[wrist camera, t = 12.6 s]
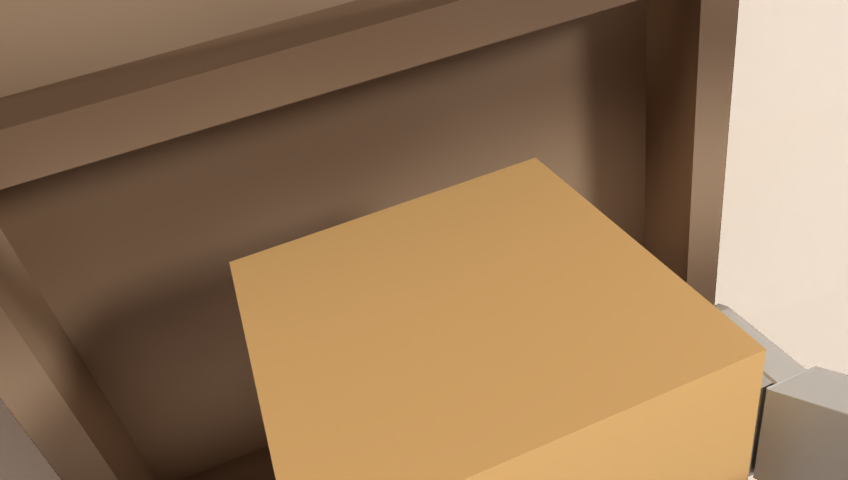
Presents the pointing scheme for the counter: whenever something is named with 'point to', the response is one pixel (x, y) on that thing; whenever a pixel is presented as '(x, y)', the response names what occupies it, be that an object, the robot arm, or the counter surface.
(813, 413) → the robot arm
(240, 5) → the organiser
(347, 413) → the letter cube
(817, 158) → the counter surface
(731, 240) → the counter surface
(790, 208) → the counter surface
